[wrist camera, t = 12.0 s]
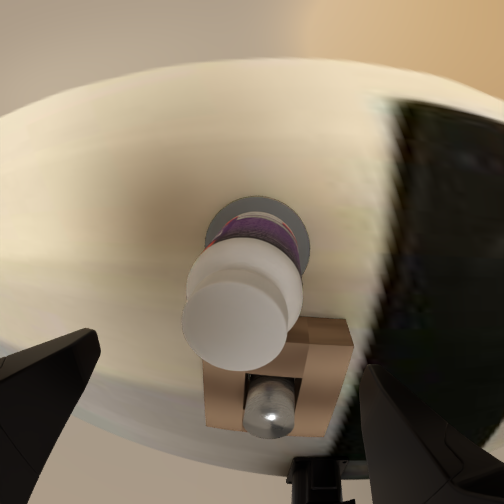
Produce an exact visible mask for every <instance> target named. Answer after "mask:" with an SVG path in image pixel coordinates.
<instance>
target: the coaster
mask: <svg viewBox="0 0 504 504" xmlns="http://www.w3.org/2000/svg"><path fill="white" fill-rule="evenodd" d="M247 212H265V213H268V214H271V215H274V216H276V217H278V218H279V219H281V220H282V221H283V222H284V223H285V224H286V225H287V226H288V227H289V228H290V229H291V231H292V233H293V234H294V236H295V239H296V242H297V245H298V251H299V260H300V268H301V276H302V275H303V273H304V271H305V269H306V267H307V264H308V261H309V256H310V243H309V238H308V234H307V231H306V228H305V226H304V224H303V222H302V220H301V219H300V217H299V216H298V215H297V214H296V213H295V212H294V211H293V210H292V209H291V208H290V207H289V206H287V205H286V204H284V203H282V202H280V201H278V200H276V199H273V198H269V197H263V196H250V197H245V198H241V199H238V200H236V201H234V202H232V203H230V204H228V205H227V206H226V207H224V208H223V209H222V210H221V211H220V212H219V213H218V214H217V215H216V216H215V218H214V219H213V220H212V222H211V224H210V226H209V228H208V231H207V234H206V238H205V249H206V247H207V246H208V245H209V244H210V242H211V241H212V240H213V239H214V237H215V236H216V235H217V234H218V232H219V231H220V230H221V229H222V228H223V227H224V226H225V225H226V224H227V223H228V222H229V221H230V220H231V219H233V218H235V217H236V216H238V215H241V214H243V213H247Z"/></svg>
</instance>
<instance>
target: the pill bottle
mask: <svg viewBox="0 0 504 504" xmlns="http://www.w3.org/2000/svg"><path fill="white" fill-rule="evenodd" d="M186 297H187V302H186V304H185V307H184V309H183V314H182V330H183V334H184V336H185V339H186V341H187V342H188V344H189V346H190V347H191V348H192V350H193V351H194V352H195V353H196V354H197V355H198V356H199V357H201V358H202V359H203V360H205V361H206V362H208V363H210V364H212V365H214V366H216V367H219V368H222V369H226V370H231V371H249V370H254V369H257V368H260V367H262V366H264V365H266V364H268V363H270V362H271V361H272V360H273V359H275V358H276V357H277V356H278V354H279V353H280V352H281V350H282V349H283V347H284V345H285V342H286V338H287V332H288V331H289V330H290V329H291V328H292V327H293V325H294V324H295V323H296V321H297V319H298V317H299V315H300V312H301V308H302V304H303V283H302V276H301V268H300V260H299V251H298V245H297V242H296V239H295V236H294V234H293V233H292V231H291V229H290V228H289V227H288V226H287V225H286V224H285V223H284V222H283V221H282V220H281V219H279V218H278V217H276V216H274V215H271V214H268V213H265V212H247V213H243V214H241V215H238V216H236V217H235V218H233V219H231V220H230V221H229V222H228V223H227V224H226V225H225V226H224V227H223V228H222V229H221V230H220V231H219V232H218V234H217V235H216V236H215V237H214V239H213V240H212V241H211V242H210V244H209V245H208V246H207V247H206V249H205V250H204V251H203V252H202V253H201V255H200V256H199V257H198V258H197V260H196V261H195V263H194V264H193V266H192V268H191V270H190V272H189V275H188V278H187V284H186Z"/></svg>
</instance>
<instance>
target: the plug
mask: <svg viewBox="0 0 504 504" xmlns="http://www.w3.org/2000/svg"><path fill="white" fill-rule="evenodd" d="M294 418H295V402H294V377H280V376H269V375H259V374H251V378H250V384H249V390H248V396H247V401H246V407H245V413H244V418H243V426H244V428H245V429H246V431H247V432H249V433H250V434H252V435H254V436H256V437H259V438H264V439H276V438H280V437H283V436H286V435H288V434H289V433H290V432H291V431H292V430H293V428H294Z"/></svg>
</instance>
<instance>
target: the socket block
mask: <svg viewBox="0 0 504 504" xmlns="http://www.w3.org/2000/svg"><path fill="white" fill-rule="evenodd" d="M353 348H354V344H353V341H352V338H351V335H350V332H349V328H348V325H347V322H346V320H345V319H328V318H314V317H300V316H299V317H298V319H297V321H296V323H295V324H294V325H293V327H292V328H291V329H290V330H289V331H288V332H287V338H286V342H285V345H284V347H283V349H282V350H281V352H280V353H279V354H278V356H277V357H276V358H275V359H273V360H272V361H271V362H270V363H268V364H266V365H264V366H262V367H260V368H257V369H254V370H249V371H231V370H226V369H222V368H219V367H216V366H214V365H212V364H210V363H208V362H206V361H205V360H203V382H204V400H205V416H206V426H208V427H214V428H220V429H227V430H234V431H242V432H247V431H246V429H245V428H244V426H243V418H244V413H245V407H246V401H247V396H248V390H249V384H250V381H248V373H250V374H259V375H269V376H280V377H294V378H296V379H295V384H294V402H295V418H294V428H293V430H292V431H291V432H290V433H289V434H288V435H286V436H305V437H324V435H325V432H326V430H327V427H328V424H329V422H330V419H331V416H332V414H333V411H334V408H335V405H336V402H337V399H338V397H339V394H340V391H341V388H342V385H343V381H344V378H345V375H346V372H347V369H348V365H349V362H350V359H351V355H352V352H353Z"/></svg>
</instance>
